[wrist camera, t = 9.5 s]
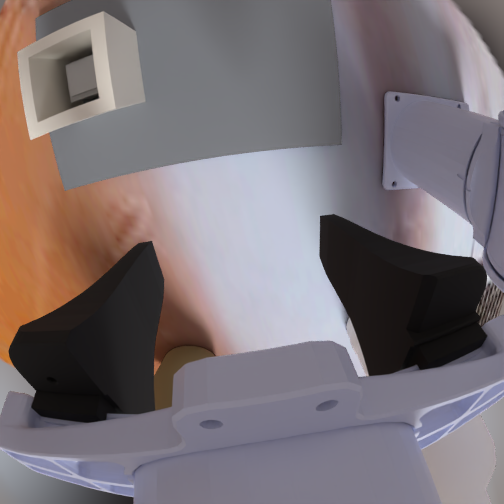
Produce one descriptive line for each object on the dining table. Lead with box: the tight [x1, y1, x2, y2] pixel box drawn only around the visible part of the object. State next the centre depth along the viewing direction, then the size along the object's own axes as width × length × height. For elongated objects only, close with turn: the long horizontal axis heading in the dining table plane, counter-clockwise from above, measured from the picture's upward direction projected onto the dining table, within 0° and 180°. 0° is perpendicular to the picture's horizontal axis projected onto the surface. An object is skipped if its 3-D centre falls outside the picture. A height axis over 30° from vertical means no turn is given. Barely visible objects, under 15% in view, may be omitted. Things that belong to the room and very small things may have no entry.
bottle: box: [346, 317, 496, 504], centre depth 17 cm, size 8×8×30 cm
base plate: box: [36, 0, 341, 191], centre depth 13 cm, size 20×14×4 cm
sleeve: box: [17, 11, 146, 140], centre depth 12 cm, size 5×5×6 cm
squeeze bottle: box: [154, 346, 215, 411], centre depth 23 cm, size 8×8×18 cm
